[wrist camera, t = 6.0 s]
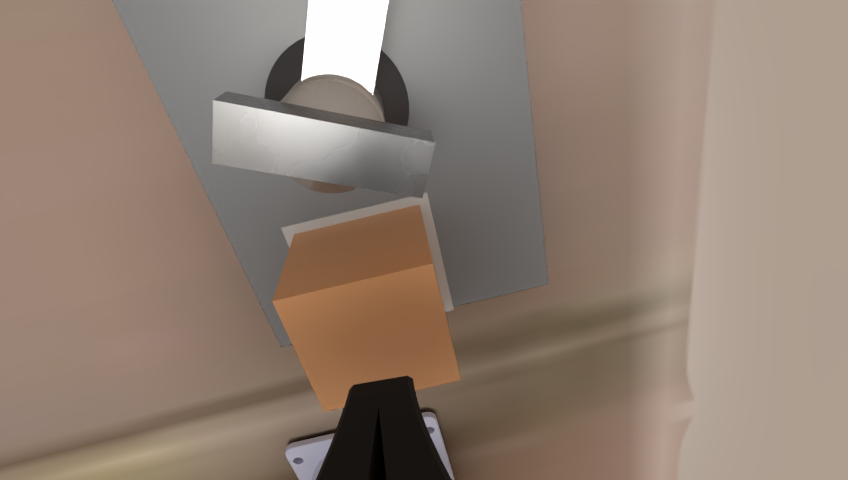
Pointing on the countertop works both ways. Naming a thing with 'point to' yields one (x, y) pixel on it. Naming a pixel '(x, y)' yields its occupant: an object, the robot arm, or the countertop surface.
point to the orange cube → (365, 305)
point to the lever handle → (328, 114)
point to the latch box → (403, 105)
